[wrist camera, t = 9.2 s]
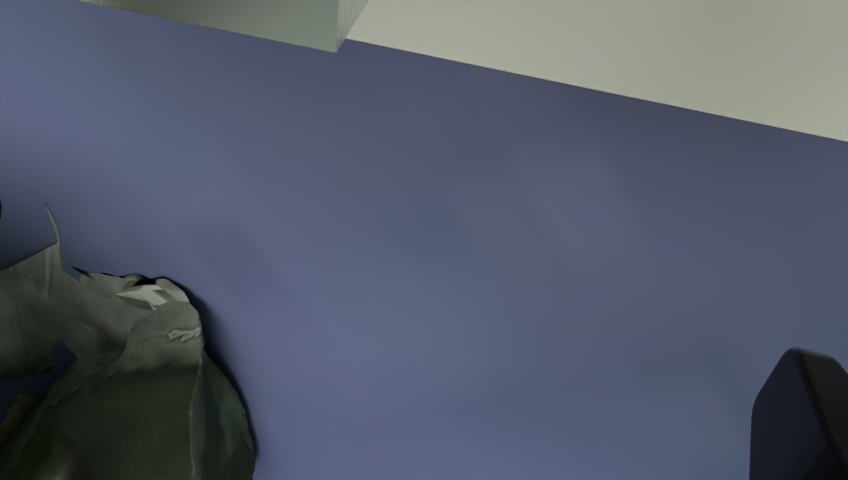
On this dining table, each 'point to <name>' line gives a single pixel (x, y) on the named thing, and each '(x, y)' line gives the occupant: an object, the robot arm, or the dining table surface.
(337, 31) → the brushed grey cube
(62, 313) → the rose bouquet
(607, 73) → the board
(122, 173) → the dining table surface
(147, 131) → the dining table surface
